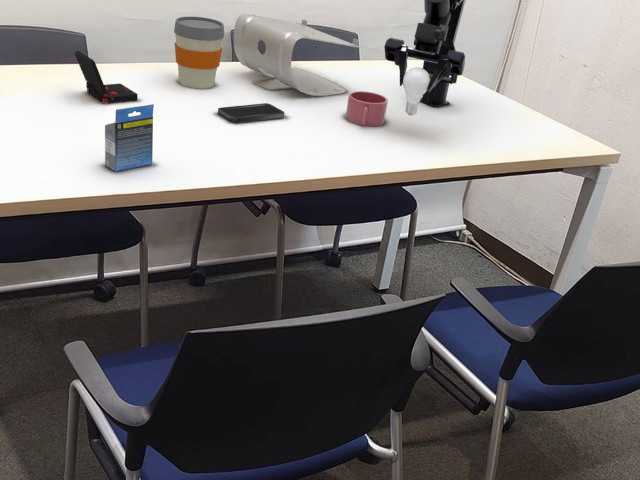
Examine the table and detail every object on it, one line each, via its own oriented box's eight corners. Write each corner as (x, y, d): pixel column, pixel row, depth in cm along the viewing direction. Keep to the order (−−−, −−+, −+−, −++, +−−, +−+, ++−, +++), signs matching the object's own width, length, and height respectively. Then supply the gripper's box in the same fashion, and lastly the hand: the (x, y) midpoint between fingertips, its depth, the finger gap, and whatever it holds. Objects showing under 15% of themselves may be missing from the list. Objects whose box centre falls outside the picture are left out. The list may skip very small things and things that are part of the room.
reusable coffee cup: (230, 85, 229) (234, 25, 220) (200, 93, 219) (204, 31, 211) (192, 73, 234) (195, 14, 225) (161, 81, 224) (164, 19, 216)
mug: (347, 110, 222) (350, 89, 219) (385, 117, 221) (389, 95, 218) (342, 125, 212) (345, 103, 209) (382, 132, 211) (386, 109, 208)
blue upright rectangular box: (141, 158, 178) (143, 98, 172) (153, 165, 176) (154, 104, 169) (104, 165, 173) (104, 103, 166) (115, 172, 171) (115, 109, 164)
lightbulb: (422, 121, 205) (431, 73, 199) (395, 116, 206) (404, 68, 200) (424, 113, 210) (433, 66, 204) (398, 108, 211) (406, 62, 205)
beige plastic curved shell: (228, 73, 238) (232, 13, 229) (294, 66, 252) (300, 9, 243) (288, 101, 223) (295, 38, 214) (355, 92, 236) (364, 32, 228)
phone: (216, 108, 207) (268, 102, 215) (215, 112, 208) (267, 107, 216) (234, 118, 202) (286, 112, 210) (233, 123, 203) (286, 117, 211)
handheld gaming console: (138, 100, 209) (139, 58, 203) (92, 105, 202) (91, 61, 197) (120, 89, 215) (120, 47, 209) (74, 93, 208) (73, 49, 203)
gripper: (393, 0, 200) (373, 60, 198) (473, 16, 196) (454, 77, 194) (395, 30, 211) (376, 87, 208) (471, 45, 207) (452, 103, 204)
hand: (414, 88), depth 203 cm, fingers closed on lightbulb, 6 cm apart
